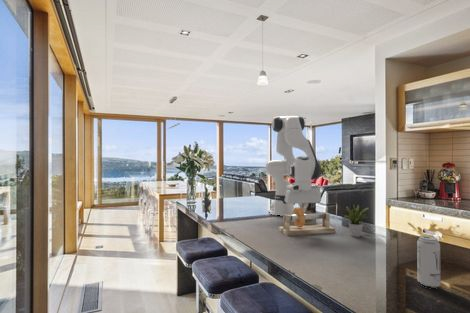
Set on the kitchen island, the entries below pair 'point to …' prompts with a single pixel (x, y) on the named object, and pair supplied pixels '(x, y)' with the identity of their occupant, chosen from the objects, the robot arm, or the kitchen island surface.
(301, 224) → the orange faceted ring
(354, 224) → the house plant
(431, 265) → the energy drink can
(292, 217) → the steel pipe
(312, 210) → the coffee box
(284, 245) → the kitchen island surface
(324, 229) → the pipe stand
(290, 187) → the robot arm
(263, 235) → the kitchen island surface
